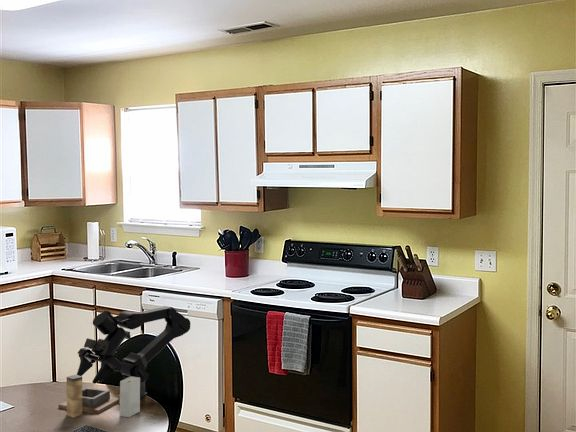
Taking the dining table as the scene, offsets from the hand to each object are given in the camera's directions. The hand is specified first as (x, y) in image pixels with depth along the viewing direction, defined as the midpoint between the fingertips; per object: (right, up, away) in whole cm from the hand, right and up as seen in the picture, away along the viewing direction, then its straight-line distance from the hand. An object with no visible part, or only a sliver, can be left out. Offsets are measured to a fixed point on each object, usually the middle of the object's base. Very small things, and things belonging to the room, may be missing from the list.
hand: (85, 380), depth 222 cm
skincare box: (+16, -11, -1) cm, 19 cm away
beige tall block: (-3, -11, -3) cm, 12 cm away
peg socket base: (-1, -10, +7) cm, 13 cm away
